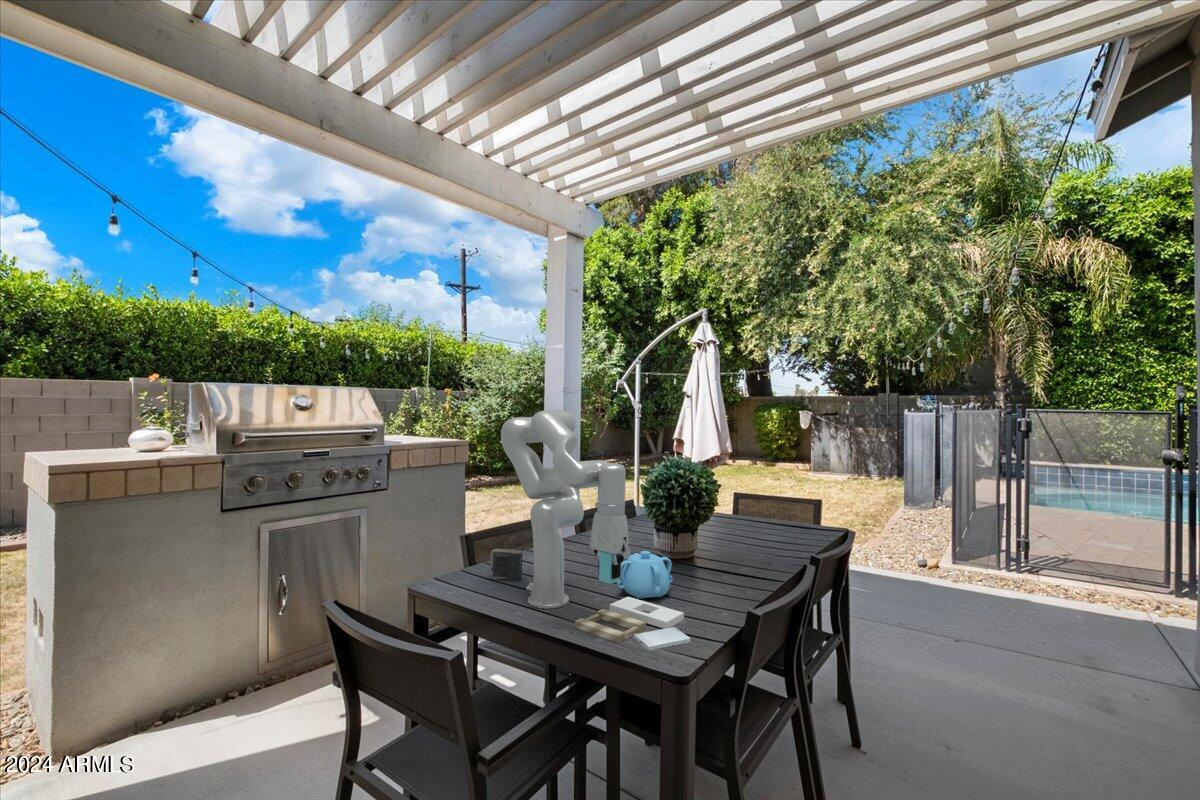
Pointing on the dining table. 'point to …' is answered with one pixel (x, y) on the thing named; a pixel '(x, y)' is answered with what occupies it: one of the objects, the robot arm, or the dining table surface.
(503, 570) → the camera
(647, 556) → the decorative pot
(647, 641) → the hard drive
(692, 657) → the dining table surface
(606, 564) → the plug
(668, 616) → the port panel
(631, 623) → the tan hollow rectangular frame
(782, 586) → the dining table surface
